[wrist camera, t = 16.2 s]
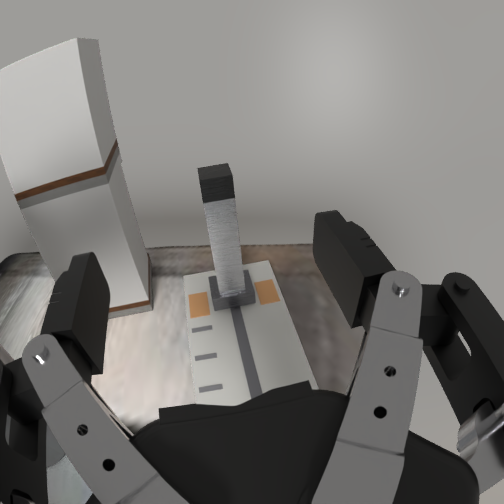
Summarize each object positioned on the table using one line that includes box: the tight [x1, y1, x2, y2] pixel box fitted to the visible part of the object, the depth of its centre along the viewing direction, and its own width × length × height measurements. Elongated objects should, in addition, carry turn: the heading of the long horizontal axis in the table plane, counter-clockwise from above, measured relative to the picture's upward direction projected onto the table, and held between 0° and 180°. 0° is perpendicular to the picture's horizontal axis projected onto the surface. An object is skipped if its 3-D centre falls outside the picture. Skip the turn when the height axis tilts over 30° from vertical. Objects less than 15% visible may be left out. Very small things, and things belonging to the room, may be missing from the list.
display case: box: [0, 38, 153, 319], centre depth 35 cm, size 11×11×35 cm
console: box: [183, 260, 318, 406], centre depth 35 cm, size 12×28×3 cm, turn 12°
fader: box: [198, 163, 256, 311], centre depth 35 cm, size 5×4×16 cm
